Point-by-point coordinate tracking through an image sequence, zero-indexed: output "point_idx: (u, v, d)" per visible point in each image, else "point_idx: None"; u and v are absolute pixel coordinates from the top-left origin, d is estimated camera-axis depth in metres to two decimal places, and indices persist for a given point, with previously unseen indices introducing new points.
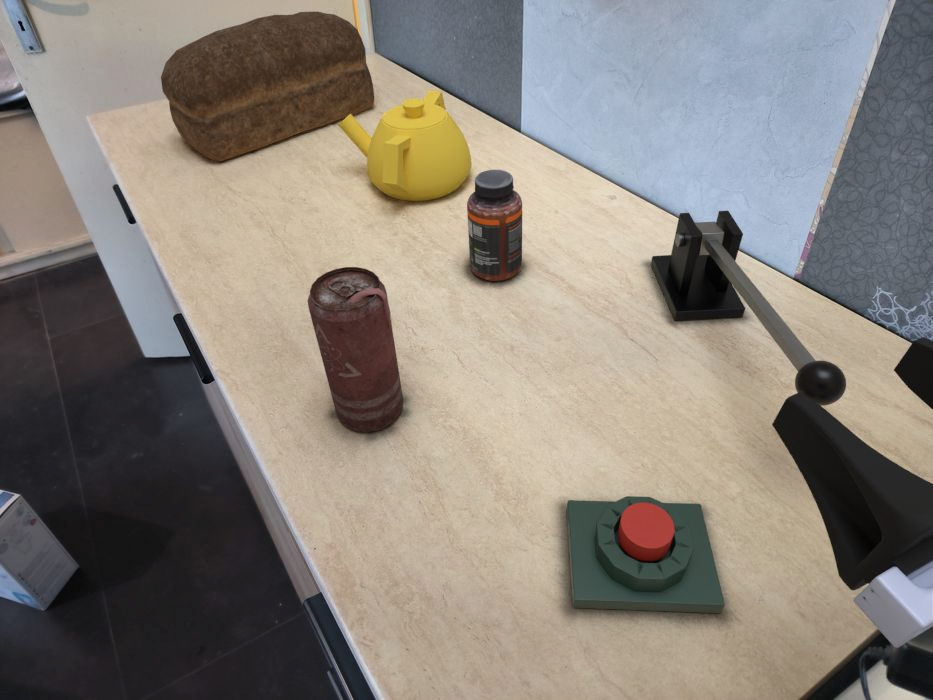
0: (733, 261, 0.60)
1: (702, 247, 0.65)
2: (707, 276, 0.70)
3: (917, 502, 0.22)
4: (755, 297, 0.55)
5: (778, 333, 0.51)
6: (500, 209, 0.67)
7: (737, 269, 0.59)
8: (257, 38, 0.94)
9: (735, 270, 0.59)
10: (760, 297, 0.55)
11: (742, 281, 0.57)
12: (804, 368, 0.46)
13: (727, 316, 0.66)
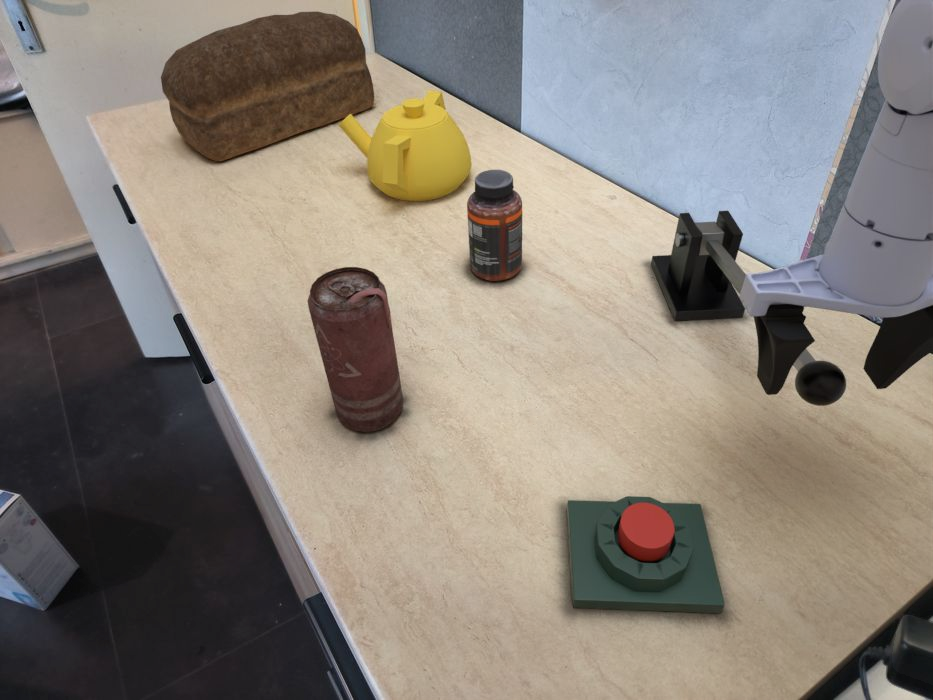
0: (733, 261, 0.60)
1: (702, 247, 0.65)
2: (707, 276, 0.70)
3: None
4: None
5: None
6: (500, 209, 0.67)
7: (737, 269, 0.59)
8: (257, 37, 0.94)
9: (735, 270, 0.59)
10: None
11: (742, 281, 0.57)
12: (804, 368, 0.46)
13: (727, 316, 0.66)
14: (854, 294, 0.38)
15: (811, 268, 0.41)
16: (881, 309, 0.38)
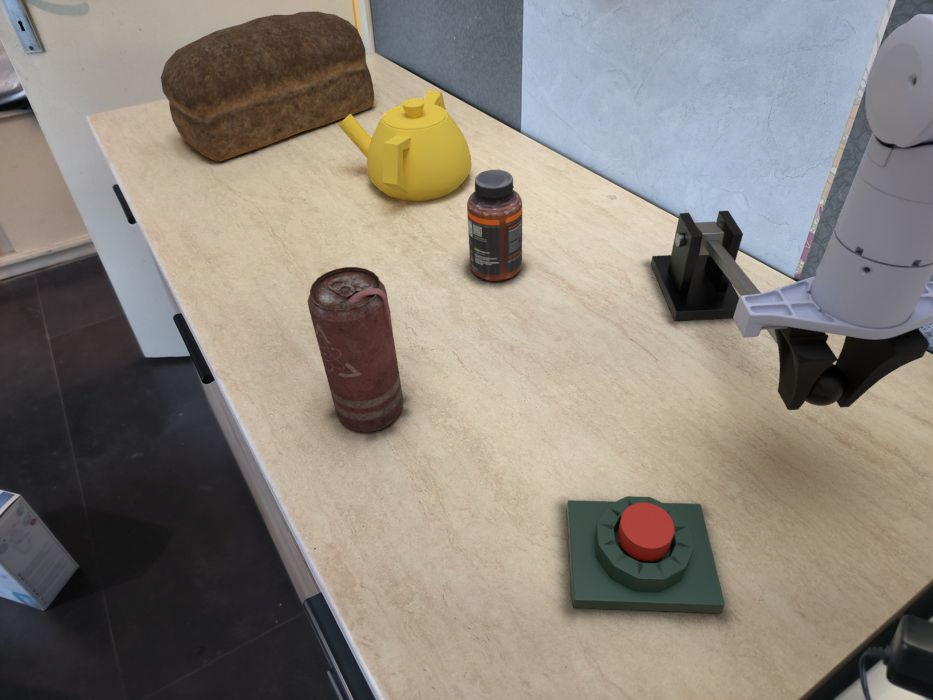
0: (733, 261, 0.60)
1: (702, 247, 0.65)
2: (707, 276, 0.70)
3: None
4: None
5: None
6: (499, 209, 0.67)
7: (737, 269, 0.59)
8: (257, 37, 0.94)
9: (735, 270, 0.59)
10: None
11: (742, 281, 0.57)
12: None
13: (727, 316, 0.66)
14: (844, 317, 0.39)
15: (803, 290, 0.42)
16: (870, 331, 0.39)
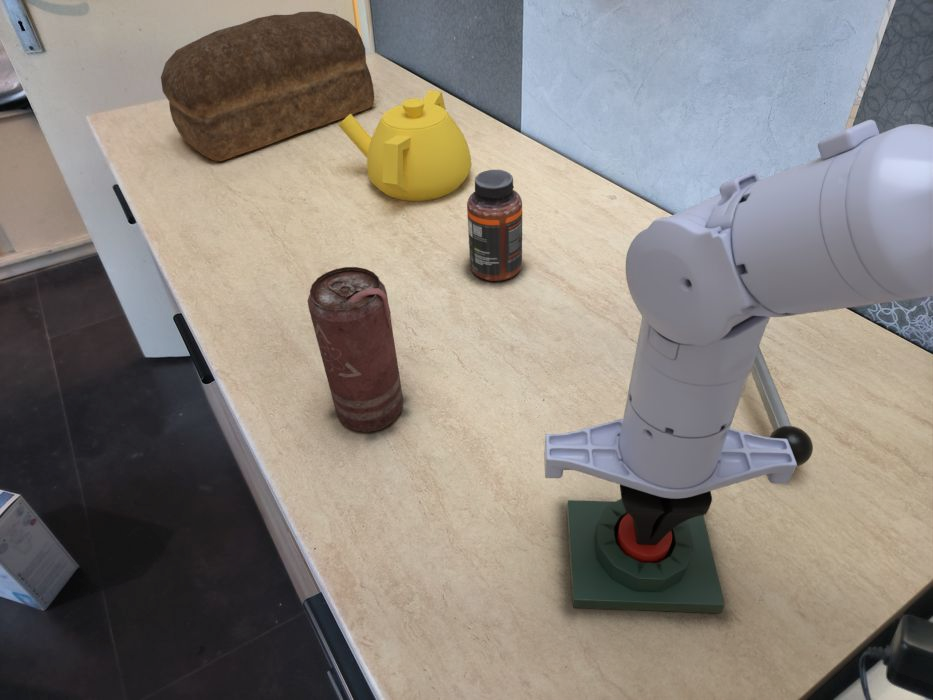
0: None
1: None
2: None
3: None
4: None
5: (760, 382, 0.54)
6: (499, 209, 0.67)
7: None
8: (257, 37, 0.94)
9: None
10: None
11: None
12: (777, 435, 0.51)
13: None
14: (638, 472, 0.37)
15: (616, 431, 0.41)
16: (663, 491, 0.37)
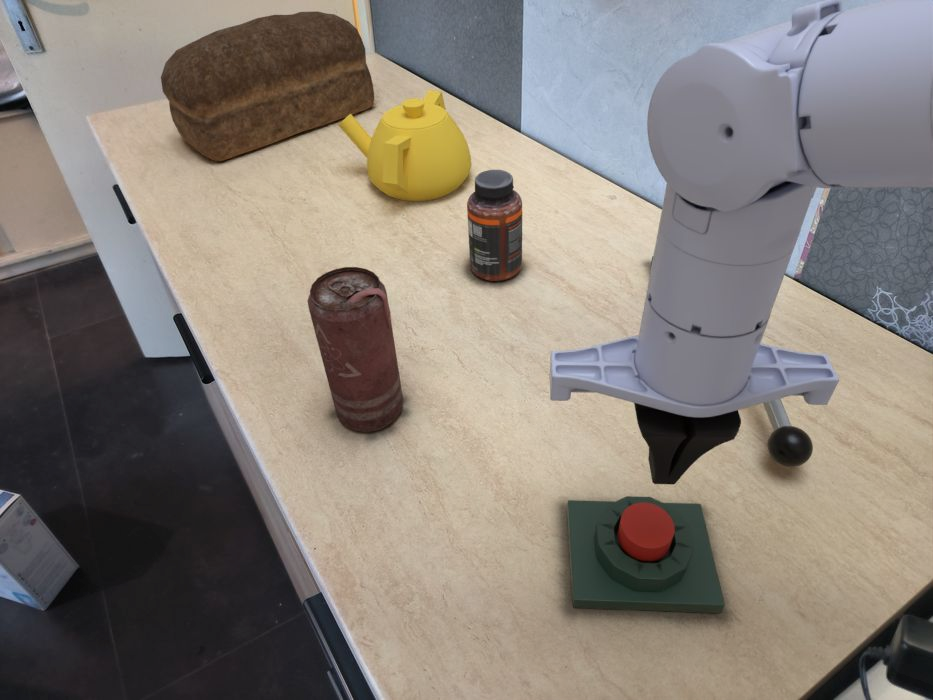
0: None
1: None
2: None
3: None
4: None
5: None
6: (499, 209, 0.67)
7: None
8: (257, 37, 0.94)
9: None
10: None
11: None
12: (777, 435, 0.51)
13: None
14: (658, 387, 0.33)
15: (631, 349, 0.36)
16: (686, 408, 0.32)
